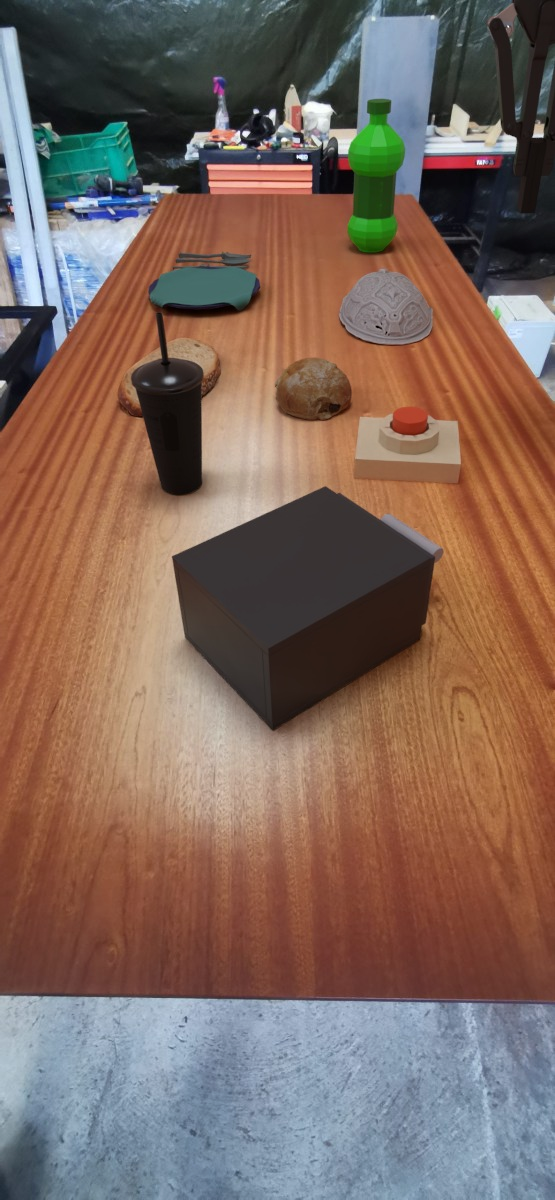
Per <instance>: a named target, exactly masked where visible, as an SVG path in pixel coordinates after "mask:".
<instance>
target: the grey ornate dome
mask: <svg viewBox="0 0 555 1200" xmlns="http://www.w3.org/2000/svg"><path fill="white" fill-rule="evenodd" d="M433 313H434V309H433V308H432V306H429V304H428V302H427V299H426V298H425V297H424V294H423V293H422V292H421V290H420V289H419V288H418V287H417V285H416V284H415V283H413V281H411V279H410V278H409V277H407V276H406V275H405V274H403V273H400V272H396V271H389V270H388V269H387V268H382V267H381V268H380V269H378V271H373V272H372V271H371V272H370V273H366V274H365V275H364V276H361V277H360V278H359V279H358V280H357V281H356V282H355V284H354V285H353V287H352V288H351V289H350V291H349V292H348V293H347V294H346V295H345V296H344V297H343V299H342V302H341V305H340V307H339V313H338V317H339V320H340V322H341V323H342V325H344V326H345V330H346V331H347V332H348V333H349V334H351V335H353V336H355V337H356V338H358V339H359V338H360V339H361V340H363V341H366V342H370V343H374V344H377V345H393V346H395V345H396V346H400V345H401V346H404V345H409V344H412V343H416V342H419V341H421V340H423V339H425V338H426V337H428V335H430V333H431V332H432V329H433V324H434V323H433V322H434V320H433V317H434V315H433ZM376 326H378V327H379V328H377V327H376ZM386 332H387V333H386Z"/></svg>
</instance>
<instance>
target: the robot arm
mask: <svg viewBox="0 0 555 1200" xmlns="http://www.w3.org/2000/svg"><path fill="white" fill-rule="evenodd" d="M516 18H517V20H518V21H519V24H520V26H521V28H522V31H523V33H524V34H525V37H526V39H527V40H528V42H529V46H528V57H527V65H526V72H525V79H524V85H523V93H522V98H521V106H520V112H519V119H518V120H517V117H516V102H515V101H516V99H515V87H514V86H515V85H514V71H513V55H512V54H513V53H512V45H511V41H510V40H511V39H510V37H511V36H512V35H513V34H514V31H515V23H514V22H515V20H516ZM486 29H487V32H488V34H489V36H490V38H491V40H492V44H493V45H494V56H495V68H496V81H497V82H496V83H497V94H498V107H499V108H498V109H499V119H500V120H499V121H500V128H501V130H502V131H503V132H504V134H505V135H507V136H510V137H513V138H515V139H516V145H515V152H514V158H513V166H512V170H513V174H514V176H515V177H516V178H518V177H520V185H519V190H518V197H517V203H516V207H517V208H516V209H518V211H519V213H520V214H536V209H537V208H536V207H537V203H538V197H539V192H540V185H541V179H542V177H549V176H550V175H551V173H552V172H553V169H554V163H555V62H554V63H553V69H552V75H551V82H550V88H549V89H550V90H549V94H548V100H547V105H546V112H545V117H544V118H545V119H544V124H543V129H542V130H543V136H542V137H541V136H540V137H539V136H537V137H534V132H535V127H536V122H537V116H538V115H537V114H538V110H539V109H538V108H539V103H540V96H541V89H542V84H543V77H544V72H545V65H546V60H547V57H548V53H549V48H550V46H551V45H554V44H555V0H512V1H511V4H509V5H508V6H506V7H505V8H504V9H503V10H501V11H500V12H499V13H498V14H497V15H491V16H490V17H488V19H487V20H486Z"/></svg>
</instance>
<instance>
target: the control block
mask: <svg viewBox="0 0 555 1200" xmlns="http://www.w3.org/2000/svg"><path fill="white" fill-rule="evenodd" d="M392 421H393V413H389V414H387V415H385V416H384V417H375V416H373V417H372V416H360V417H359V421H358V430H357V438H356V445H355V454H354V465H353V466H354V468H353V478H354V479H362V480H363V479H364V480H384V481H403V482H404V481H406V482H421V483H442V484H459V480H460V475H461V467H462V457H461V456H462V455H461V446H460V433H459V421H458V420H444V419H443V420H441V419H435V418H434V417H432V416H431V415H428V420H427V428H426V431H425V432H424V433H423V434H419V435H415V436H412V435H402V434H399V433H396V432H394V431H393V429H392Z"/></svg>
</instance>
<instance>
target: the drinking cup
mask: <svg viewBox="0 0 555 1200" xmlns="http://www.w3.org/2000/svg"><path fill="white" fill-rule="evenodd" d="M155 319H156V326H157V334H158V338H159V339H158V341H159V342H158V343H159V347H160V349H161V356H162V359H157V360H154V361H151V362H149V363H146V364H144V365H142V366H140V367H138V368H137V369H135V370H134V372H133V373H132V375H131V382H132V385H133V386H134V387H135V388H136V392H137V396H138V400H139V403H140V407H141V411H142V415H143V416H142V419H143V423H144V426H145V430H146V433H147V437H148V441H149V444H150V448H151V453H152V456H153V461H154V464H155V468H156V472H157V475H158V479H159V483H160V488H161V489H162V491H164V492H165V493H167V494H169V495H174V496H184V495H188V494H192V493H194V492H196V491H198V490H199V489H200V488H201V486H202V484H203V433H202V432H203V427H202V426H203V423H202V419H203V415H202V411H203V407H202V406H203V405H202V404H203V403H202V397H203V396H201V382H202V380H203V377H204V372H203V369H202V367H201V366H200V365H198V364H197V363H195V362H192V361H189V360H184V359H178V358H168V352H167V344H166V343H167V336H166V329H165V322H164V314H163V312H162V311H158V312H156V313H155Z"/></svg>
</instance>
